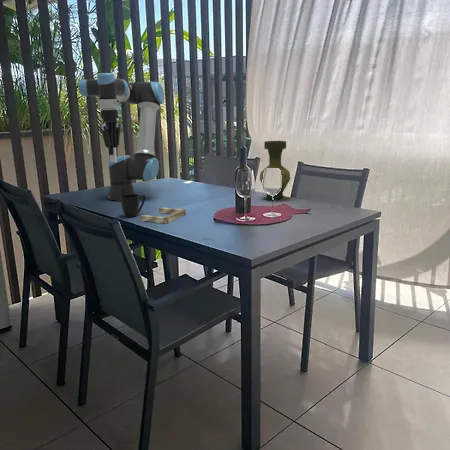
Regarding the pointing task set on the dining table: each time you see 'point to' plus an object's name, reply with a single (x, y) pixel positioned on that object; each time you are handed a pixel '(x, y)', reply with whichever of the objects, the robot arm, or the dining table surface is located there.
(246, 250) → the dining table surface
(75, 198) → the dining table surface
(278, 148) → the vase
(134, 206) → the mug
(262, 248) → the dining table surface
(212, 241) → the dining table surface
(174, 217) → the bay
